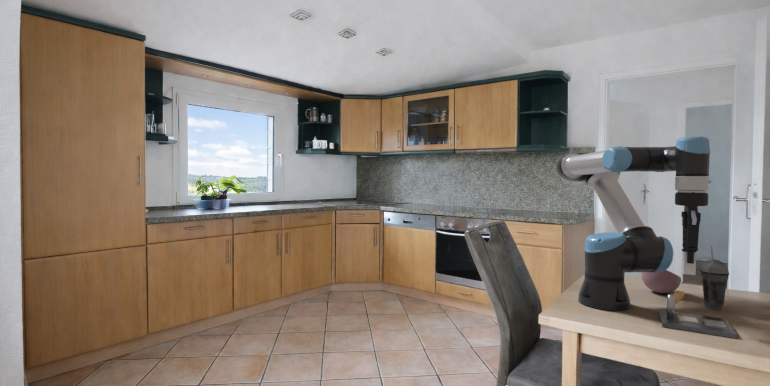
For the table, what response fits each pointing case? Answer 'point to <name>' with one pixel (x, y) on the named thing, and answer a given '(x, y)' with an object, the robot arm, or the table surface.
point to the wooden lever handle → (678, 296)
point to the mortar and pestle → (661, 281)
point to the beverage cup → (714, 282)
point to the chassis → (694, 321)
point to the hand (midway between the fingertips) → (689, 274)
